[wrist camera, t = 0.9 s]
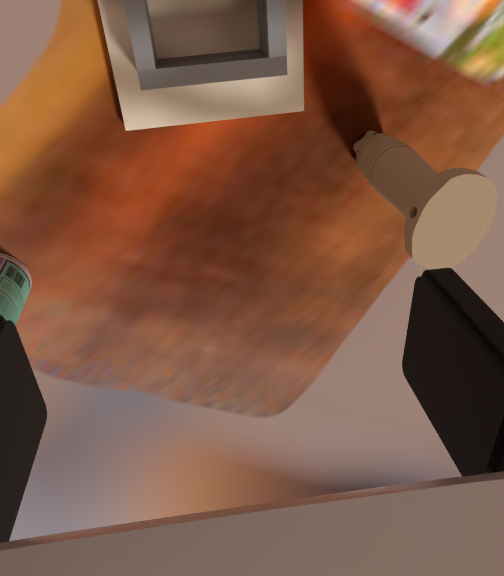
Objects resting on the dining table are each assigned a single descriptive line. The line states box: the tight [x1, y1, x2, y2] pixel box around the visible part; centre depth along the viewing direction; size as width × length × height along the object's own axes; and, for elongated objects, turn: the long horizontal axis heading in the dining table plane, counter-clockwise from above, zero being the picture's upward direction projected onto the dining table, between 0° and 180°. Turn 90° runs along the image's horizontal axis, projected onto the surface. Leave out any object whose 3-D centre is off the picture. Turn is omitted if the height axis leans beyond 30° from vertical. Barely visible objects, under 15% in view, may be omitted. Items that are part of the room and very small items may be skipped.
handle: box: [353, 130, 498, 269], centre depth 36 cm, size 5×6×15 cm
